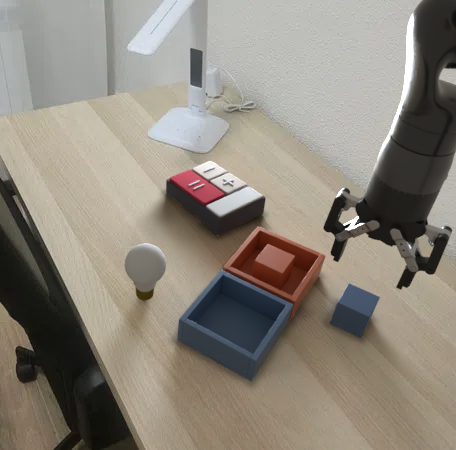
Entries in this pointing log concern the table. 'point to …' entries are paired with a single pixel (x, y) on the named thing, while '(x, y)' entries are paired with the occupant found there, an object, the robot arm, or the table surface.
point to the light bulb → (145, 268)
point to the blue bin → (234, 324)
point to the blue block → (354, 310)
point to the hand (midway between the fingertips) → (368, 271)
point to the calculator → (215, 197)
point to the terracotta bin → (300, 274)
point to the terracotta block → (273, 266)
